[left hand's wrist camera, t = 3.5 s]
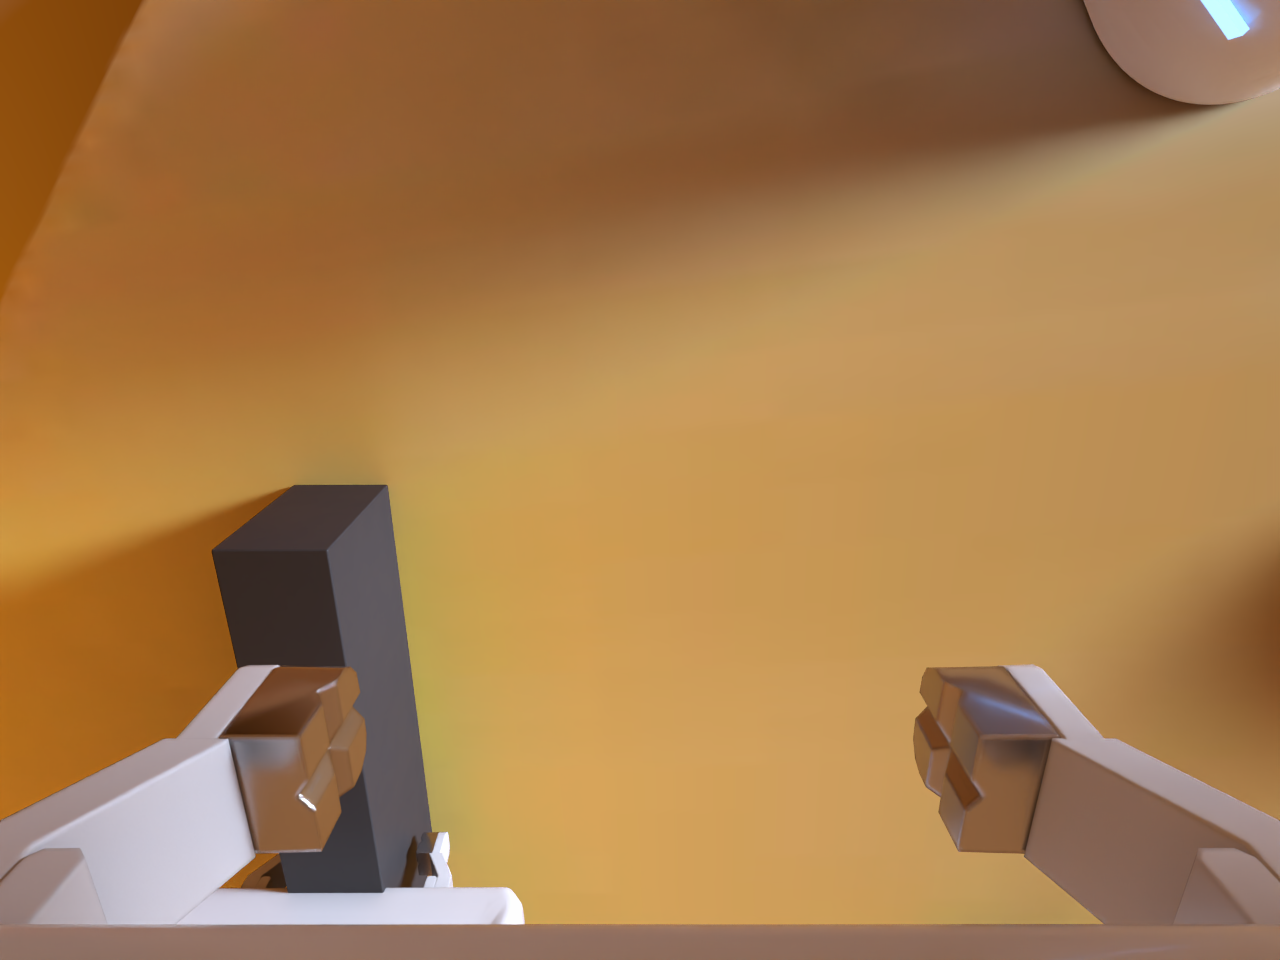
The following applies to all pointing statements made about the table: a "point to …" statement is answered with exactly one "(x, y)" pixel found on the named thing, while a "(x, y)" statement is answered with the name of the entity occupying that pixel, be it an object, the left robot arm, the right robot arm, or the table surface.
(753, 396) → the table surface
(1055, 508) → the table surface
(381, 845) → the bar
